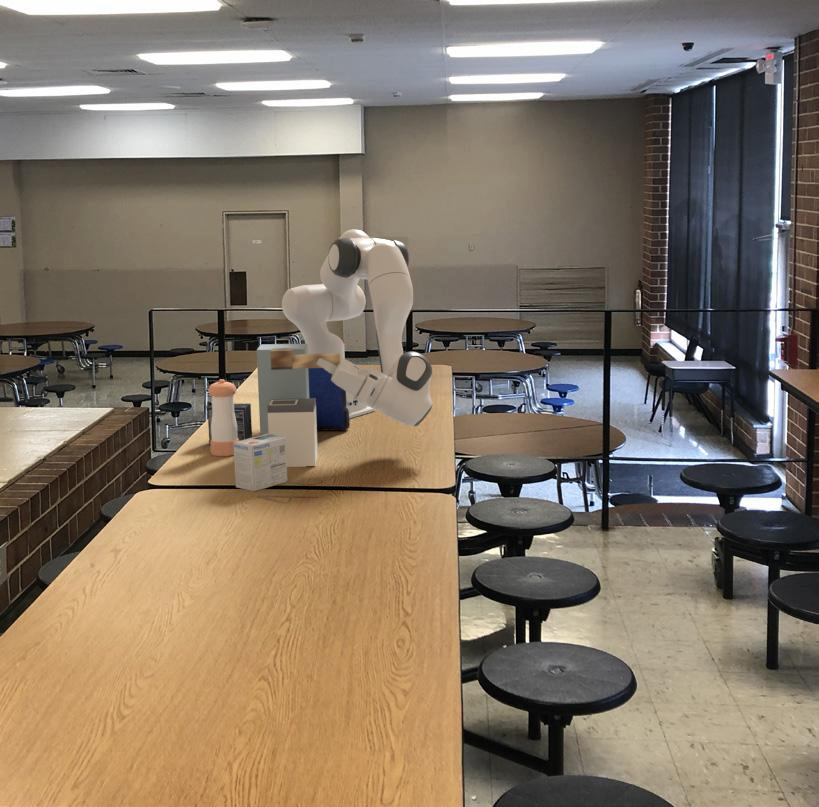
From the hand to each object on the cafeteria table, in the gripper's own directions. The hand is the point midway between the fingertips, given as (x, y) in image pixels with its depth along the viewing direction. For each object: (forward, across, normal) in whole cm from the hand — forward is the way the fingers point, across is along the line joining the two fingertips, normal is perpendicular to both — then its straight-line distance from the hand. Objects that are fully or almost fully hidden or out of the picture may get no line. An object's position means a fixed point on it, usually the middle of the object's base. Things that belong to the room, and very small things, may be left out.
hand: (318, 359), depth 271 cm
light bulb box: (-2, +21, +29) cm, 36 cm away
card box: (-7, 0, +26) cm, 26 cm away
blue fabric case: (-12, -37, +23) cm, 45 cm away
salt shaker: (+9, -12, +35) cm, 38 cm away
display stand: (-4, -13, +27) cm, 30 cm away
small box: (+9, -23, +35) cm, 43 cm away
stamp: (+2, 0, +3) cm, 4 cm away
